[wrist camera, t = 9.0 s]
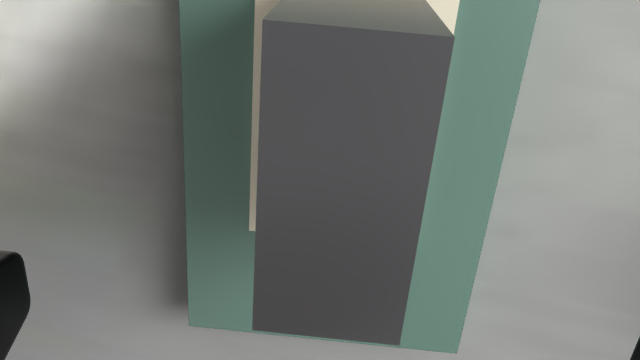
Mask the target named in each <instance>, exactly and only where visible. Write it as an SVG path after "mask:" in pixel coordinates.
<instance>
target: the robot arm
mask: <svg viewBox="0 0 640 360" xmlns="http://www.w3.org/2000/svg"><path fill="white" fill-rule="evenodd" d="M29 308H30V293H29V288H28V282H27V277H26V271H25V266H24V261H23V258H22V257H21V255H20V254H18V253H16V252H10V251H0V360H5V358H6V356H7V354H8V352H9V350H10V348H11V346H12V344H13V342H14V340H15V338H16V336H17V335H18V333H19V331H20V329H21V327H22V325H23V323H24V321H25V319H26V317H27V315H28V312H29ZM630 360H640V337H639V339H638V342H637V344H636V347H635V349H634V351H633V354H632V356H631V359H630Z"/></svg>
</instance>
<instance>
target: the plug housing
mask: <svg viewBox="0 0 640 360" xmlns="http://www.w3.org/2000/svg"><path fill="white" fill-rule="evenodd" d="M454 40H455V36H454V35H453V34H452V33H451V31H450V30H449V29H448V28H447V26H446V25H445V24H444V22H443V21H442V20H441V19H440V17H439V16H438V15H437V14H436V12H435V11H434V10H433V8H432V7H431V6H430V5H429V3H428V2H427V1H426V0H280V1H279V2H278V3H277V4H276V5H275V7H274V8H273V9H272V10H271V11H270V12H269V13H268V14H267V15H266V16H265V17H264V18H263V20H262V49H261V79H260V109H259V139H258V168H257V198H256V228H255V258H254V287H253V317H252V330H255V331H264V332H274V333H283V334H293V335H302V336H312V337H321V338H331V339H340V340H350V341H360V342H369V343H379V344H388V345H398V346H399V345H400V340H401V334H402V329H403V323H404V318H405V312H406V306H407V301H408V295H409V290H410V284H411V279H412V273H413V268H414V262H415V257H416V251H417V245H418V240H419V234H420V229H421V223H422V218H423V212H424V207H425V201H426V195H427V190H428V184H429V179H430V173H431V168H432V162H433V157H434V151H435V145H436V140H437V134H438V129H439V123H440V118H441V112H442V107H443V101H444V96H445V90H446V84H447V79H448V73H449V68H450V62H451V57H452V51H453V46H454Z"/></svg>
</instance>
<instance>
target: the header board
mask: <svg viewBox="0 0 640 360" xmlns="http://www.w3.org/2000/svg"><path fill="white" fill-rule="evenodd" d="M279 1H280V0H179V16H180V49H181V82H182V115H183V148H184V181H185V215H186V248H187V281H188V314H189V326H195V327H205V328H214V329H224V330H234V331H243V332H253V333H263V334H272V335H282V336H292V337H301V338H311V339H321V340H330V341H340V342H350V343H359V344H369V345H379V346H388V347H398V348H407V349H417V350H427V351H436V352H446V353H456V354H457V351H458V346H459V342H460V338H461V334H462V330H463V325H464V321H465V317H466V313H467V308H468V304H469V300H470V296H471V292H472V287H473V283H474V279H475V275H476V270H477V266H478V262H479V258H480V253H481V249H482V245H483V241H484V237H485V232H486V228H487V224H488V220H489V215H490V211H491V207H492V203H493V198H494V194H495V190H496V186H497V182H498V177H499V173H500V169H501V165H502V160H503V156H504V152H505V148H506V143H507V139H508V135H509V131H510V127H511V122H512V118H513V114H514V110H515V105H516V101H517V97H518V93H519V88H520V84H521V80H522V76H523V72H524V67H525V63H526V59H527V55H528V50H529V46H530V42H531V38H532V34H533V29H534V25H535V21H536V17H537V12H538V8H539V4H540V0H426V1H427V2H428V3H429V5H430V6H431V7H432V8H433V10H434V11H435V12H436V14H437V15H438V16H439V17H440V19H441V20H442V21H443V22H444V24H445V25H446V26H447V28H448V29H449V30H450V31H451V33H452V34H453V35H454V36H455V40H454V46H453V51H452V57H451V62H450V68H449V73H448V79H447V84H446V90H445V96H444V101H443V107H442V112H441V118H440V123H439V129H438V134H437V140H436V145H435V151H434V157H433V162H432V168H431V173H430V179H429V184H428V190H427V195H426V201H425V207H424V212H423V218H422V223H421V229H420V234H419V240H418V245H417V251H416V257H415V262H414V268H413V273H412V279H411V284H410V290H409V295H408V301H407V306H406V312H405V318H404V323H403V329H402V334H401V340H400V345H399V346H398V345H388V344H379V343H369V342H360V341H350V340H340V339H331V338H321V337H312V336H302V335H293V334H283V333H274V332H264V331H255V330H252V317H253V287H254V258H255V228H256V198H257V168H258V139H259V109H260V79H261V49H262V20H263V18H264V17H265V16H266V15H267V14H268V13H269V12H270V11H271V10H272V9H273V8H274V7H275V5H276V4H277V3H278V2H279Z"/></svg>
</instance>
